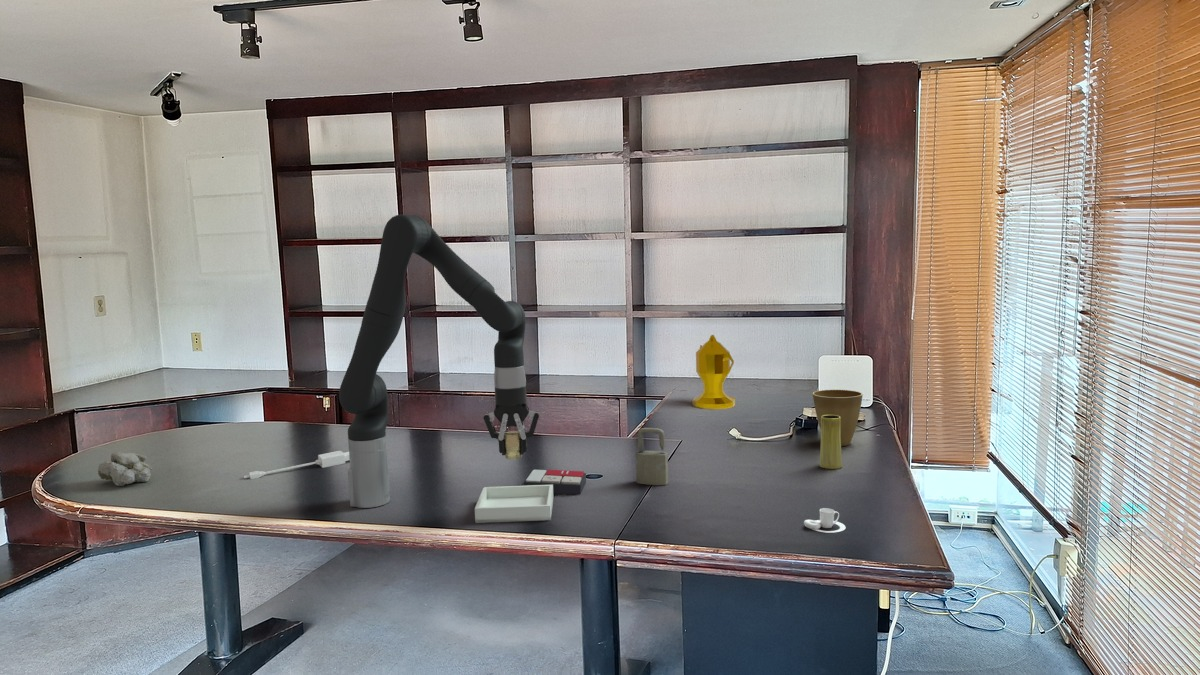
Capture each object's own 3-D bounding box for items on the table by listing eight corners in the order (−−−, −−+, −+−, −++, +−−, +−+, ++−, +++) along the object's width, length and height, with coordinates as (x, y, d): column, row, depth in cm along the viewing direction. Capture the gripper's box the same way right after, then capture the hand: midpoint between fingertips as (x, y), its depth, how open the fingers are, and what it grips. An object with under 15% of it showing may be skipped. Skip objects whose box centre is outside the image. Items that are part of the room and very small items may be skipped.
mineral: (121, 485, 214) (136, 450, 217) (79, 477, 220) (94, 443, 224) (158, 495, 225) (171, 461, 228) (117, 486, 231) (130, 454, 234)
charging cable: (243, 480, 227) (242, 469, 227) (354, 457, 244) (353, 447, 244) (246, 484, 223) (244, 473, 223) (359, 461, 240) (357, 450, 240)
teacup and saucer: (802, 532, 170) (802, 514, 170) (806, 520, 177) (806, 503, 177) (844, 536, 167) (844, 518, 166) (846, 524, 174) (846, 506, 174)
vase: (846, 465, 218) (846, 415, 217) (835, 470, 214) (836, 419, 212) (825, 462, 222) (825, 413, 221) (815, 467, 218) (815, 417, 216)
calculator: (580, 482, 200) (523, 479, 202) (580, 498, 200) (523, 495, 202) (586, 470, 211) (532, 467, 212) (586, 485, 211) (531, 482, 213)
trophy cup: (716, 397, 324) (715, 330, 321) (750, 407, 302) (750, 335, 299) (680, 401, 317) (678, 333, 314) (712, 412, 295) (711, 339, 291)
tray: (475, 523, 182) (474, 508, 181) (484, 500, 198) (483, 487, 198) (550, 520, 182) (550, 505, 181) (553, 497, 198) (552, 484, 198)
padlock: (665, 486, 205) (664, 430, 204) (635, 483, 208) (634, 429, 206) (669, 481, 209) (667, 427, 207) (640, 479, 212) (638, 425, 210)
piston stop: (504, 459, 186) (503, 435, 186) (506, 455, 190) (504, 431, 190) (521, 458, 187) (519, 434, 186) (522, 454, 190) (521, 430, 190)
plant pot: (872, 443, 241) (872, 393, 239) (841, 451, 233) (841, 399, 231) (833, 435, 253) (833, 386, 252) (802, 442, 245) (802, 392, 243)
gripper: (478, 388, 183) (482, 459, 185) (538, 386, 183) (541, 457, 185) (482, 383, 190) (486, 451, 192) (540, 380, 190) (543, 449, 192)
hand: (513, 453), depth 188 cm, fingers closed on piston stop, 4 cm apart
